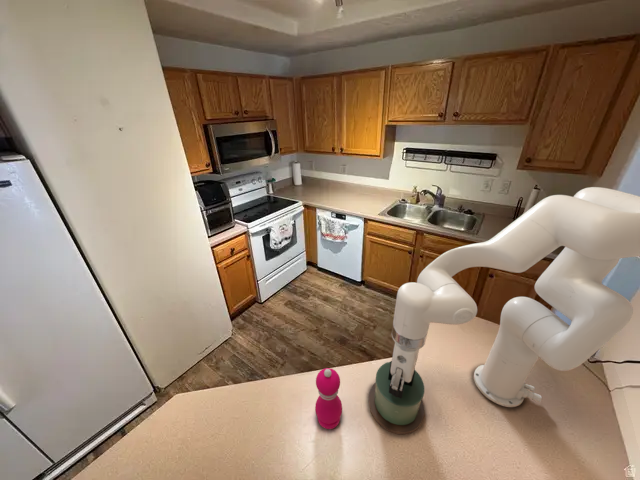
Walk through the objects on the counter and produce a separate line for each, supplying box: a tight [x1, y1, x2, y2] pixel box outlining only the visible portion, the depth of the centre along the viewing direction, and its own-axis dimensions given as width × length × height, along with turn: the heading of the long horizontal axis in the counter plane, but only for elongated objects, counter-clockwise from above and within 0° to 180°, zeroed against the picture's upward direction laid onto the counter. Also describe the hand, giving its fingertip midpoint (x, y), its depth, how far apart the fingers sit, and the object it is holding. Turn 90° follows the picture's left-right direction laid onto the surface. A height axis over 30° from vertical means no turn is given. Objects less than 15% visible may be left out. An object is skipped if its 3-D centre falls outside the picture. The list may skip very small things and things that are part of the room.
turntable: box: [368, 381, 425, 435], centre depth 73 cm, size 15×15×1 cm
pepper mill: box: [314, 367, 343, 430], centre depth 66 cm, size 7×7×20 cm
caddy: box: [374, 360, 425, 425], centre depth 69 cm, size 12×12×15 cm
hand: (400, 378), depth 67 cm, fingers open, 9 cm apart
